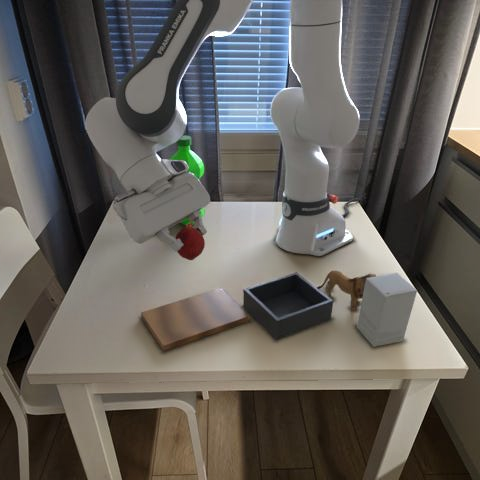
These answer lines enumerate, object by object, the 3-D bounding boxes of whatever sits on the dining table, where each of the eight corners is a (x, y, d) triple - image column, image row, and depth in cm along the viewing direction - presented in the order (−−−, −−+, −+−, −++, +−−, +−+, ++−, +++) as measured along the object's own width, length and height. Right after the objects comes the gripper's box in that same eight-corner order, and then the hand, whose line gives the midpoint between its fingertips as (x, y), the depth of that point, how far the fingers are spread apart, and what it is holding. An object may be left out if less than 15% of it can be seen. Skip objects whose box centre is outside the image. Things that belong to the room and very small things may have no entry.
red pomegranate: (192, 270, 87) (190, 232, 82) (170, 261, 89) (166, 224, 85) (210, 257, 91) (209, 221, 86) (188, 250, 93) (186, 214, 88)
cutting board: (220, 292, 108) (220, 287, 107) (248, 321, 99) (248, 316, 98) (141, 317, 100) (140, 312, 99) (163, 351, 91) (163, 345, 90)
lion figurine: (377, 305, 104) (385, 272, 98) (368, 317, 100) (376, 283, 95) (320, 285, 110) (325, 253, 105) (310, 295, 107) (314, 262, 102)
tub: (294, 289, 109) (296, 271, 106) (330, 319, 100) (333, 300, 97) (243, 307, 103) (243, 288, 100) (275, 340, 94) (277, 321, 91)
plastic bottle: (166, 220, 140) (157, 136, 124) (195, 212, 145) (190, 130, 129) (183, 232, 133) (176, 145, 118) (212, 222, 138) (209, 138, 123)
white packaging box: (404, 341, 94) (419, 290, 86) (372, 347, 92) (384, 297, 84) (385, 320, 99) (397, 271, 92) (355, 326, 98) (365, 277, 90)
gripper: (114, 190, 76) (163, 257, 78) (190, 158, 90) (230, 215, 92) (101, 209, 81) (147, 271, 83) (175, 176, 95) (214, 230, 96)
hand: (192, 241), depth 87 cm, fingers closed on red pomegranate, 6 cm apart
